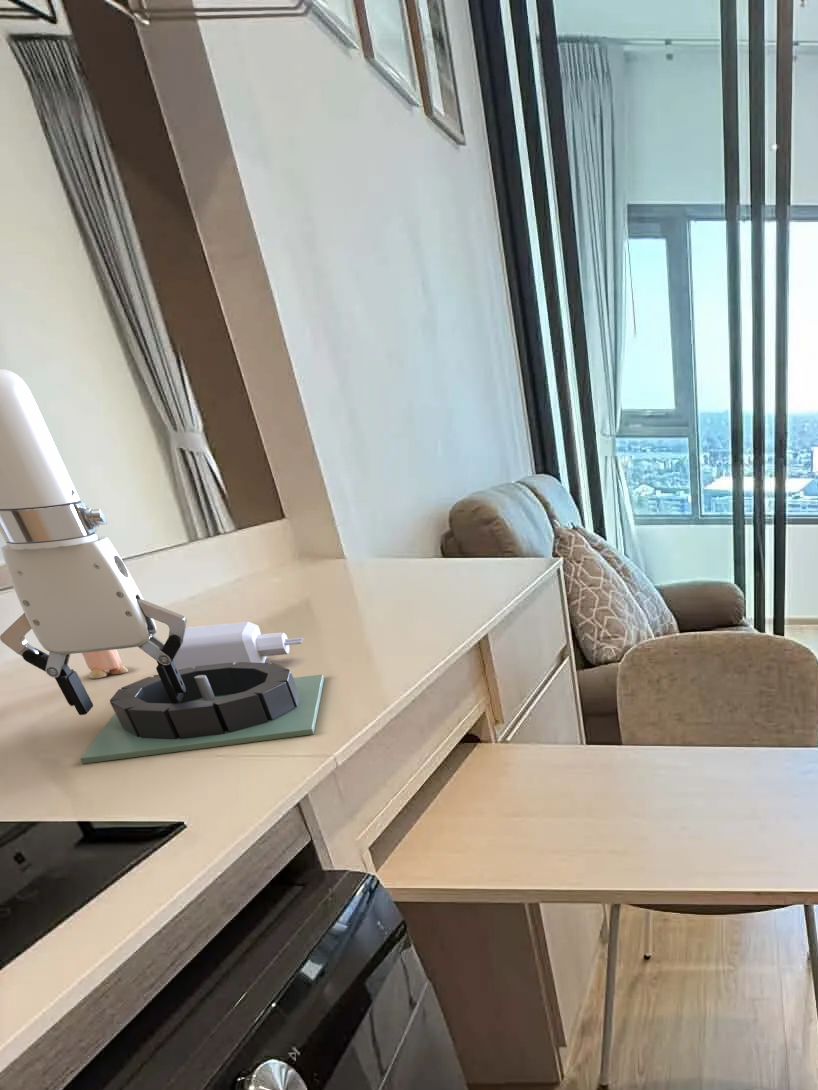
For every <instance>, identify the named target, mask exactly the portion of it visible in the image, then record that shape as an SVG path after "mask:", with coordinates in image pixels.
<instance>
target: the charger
mask: <svg viewBox="0 0 818 1090" xmlns="http://www.w3.org/2000/svg"><path fill="white" fill-rule="evenodd" d="M303 641H304V637H293V638H288V636H287V634H286V633H285V632H284V631H283V632H272V633H271V632H270V633H261V630H260V627H259V625H258V624H255V623H253V622H250V621H241V622H231V623H221V624H220V623H219V624H209V625H208V624H207V625H198V626H188V627H187V626H186V628H185V634H184V638H183V643H182V645H181V647H180V648H179V650H178V652H177V654H176V656H175V658H174V659H173V660H174V662H175V665H176V667H177V669H178V670H180V669H185V668H189V667H191V668H193V669H195V667H196V666H204V665H213V664H222V663H232V662H234V663H235V664H236V663H238V662H253V663H266V659H267V658H268V657H274V656H283V655H289V653H290V646H293V645H294V646H295V645H302V644H303Z"/></svg>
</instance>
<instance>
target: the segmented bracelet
mask: <svg viewBox="0 0 818 1090" xmlns="http://www.w3.org/2000/svg"><path fill="white" fill-rule="evenodd" d="M178 671H179V674H180V676H181V678H182V681H183V683H184V685H185V688H186V692H185V693H183V695H184V697H183V699H182V700H181V702H180V703H177V704H174V703H172V702H171V701H170V698H169V696H168V694H167V692H166V690H165V687H164V685H163V683H162V681H161V679H160V676H159V674H158V673H157V674H153V676H147V677H144V678H142V679H140V680H137V681H135V682H132V683H129V684H126V685H124V686H122V687H120V688H119V689H117V691H116V692H115V693H114V694H113V696H112V697H111V698H110V699H109V703H110V705H111V707H112V710H113V711H114V714H115V713H116V715H117V717H118V719H119V721H120V723H121V725H122V727H123V729H124V730H126V731H128V732H130V733H131V734H133V735H135V736H137V737H140V736H141V738H158V739H177V738H179V737H180V738H181V739H186V738H194V737H202V736H210V735H218V734H224V732H225V730H226V731H228V732H234V731H238V730H241V729H245V728H249V727H252V726H256V725H260V724H263V723H267V722H268V720H274V719H276V718H278V717H280V716H282V715H283V714H285V713H287V712H289V711H291V710H293V709H295V707H297V705H298V701H299V697H300V696H299V693H298V690H297V687H296V685H295V682H294V679H293V678H294V677H293V673H292V671H291V670H290V669H289V668H286V667H284V666H281V665H278V664H276V663H270V662H265V663H253V662H238V663H236V664H235V663H234V662H232V663H222V664H213V665H204V666H196V667H195V669H193V668H191V667H189V668H185V669H180V670H178ZM198 675H206V677H207V679H208V681H209V684H210V686H211V689H212V691H213V693H214V696H220V695H229V694H233V695H229V696H225V697H220V698H216V699H212V700H205V701H196V702H188V701H192V700H196V699H200V698H203V697H202V695H201V692H200V690H199V688H198V685H197V683H196V681H195V678H194V677H195V676H198ZM184 702H187V703H184Z"/></svg>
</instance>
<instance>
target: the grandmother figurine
mask: <svg viewBox="0 0 818 1090" xmlns="http://www.w3.org/2000/svg"><path fill="white" fill-rule="evenodd" d="M81 654H82V655H81V656H82V657H83V659H84V662H85V663H86V665H87V668H88V669H89V670H90V672H89V675H88V676H89V679H92V680H93V679H94V680H95V679H101V678H105V677H107V676H108V674H107V672H106V671H108V672H109V673H110V674H111V675H120V674H121V675H122V674H125V673H129V669H128V668H127V667H125V666H124V665H122V663H123V662H122V660H121V657H120V655H119V652H118V649H114V650H105V651H95V652H85V653H81Z"/></svg>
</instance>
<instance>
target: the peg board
mask: <svg viewBox="0 0 818 1090" xmlns="http://www.w3.org/2000/svg"><path fill="white" fill-rule="evenodd" d="M194 678H195V681H196V683H197V685H198V688H199V690H200V692H201V695H202V697H203V698H200V699H196V700H192V701H188V702H196V701H205V700H212V699H216V698H220V697H225V696H229V695H233V694H229V695H220V696H214V693H213V691H212V689H211V686H210V684H209V681H208V679H207V677H206V675H198V676H195V677H194ZM293 679H294V682H295V685H296V687H297V690H298V693H299V696H300V697H299V701H298V705H297V707H295V709H293V710H291V711H289V712H287V713H285V714H283V715H282V716H280V717H278V718H276V719H274V720H268V722H267V723H263V724H260V725H256V726H252V727H249V728H245V729H241V730H238V731H234V732H228V731H226V730H225V732H224V734H218V735H210V736H202V737H194V738H186V739H181V738H180V737H179V738H177V739H158V738H141V736H140V737H137V736H135V735H133V734H131V733H130V732H128V731H126V730H124V729H123V727H122V725H121V723H120V721H119V719H118V717H117V715H116V713H115V712H114V714H113V715H112V716H111V718H110V719H109V720H108V721H107V723H106V725H105V726H103V728H102V729H101V731H100V732H99V733H98V735H97V736H96V737H95V739H93V741H92V742H91V744H90V745H89V746H88V747H87V748H86V750H85V751H84V753H83V754H82V755H81V756H80V758H79V760H80V761H81V763H82V765H84V764H92V763H100V762H108V761H115V760H116V761H117V760H124V759H132V758H138V757H139V758H140V757H148V756H155V755H162V754H169V753H177V752H178V753H179V752H187V751H192V750H193V751H194V750H201V749H202V750H203V749H209V748H217V747H225V746H233V745H239V744H240V745H241V744H249V743H255V742H256V743H257V742H263V741H271V740H279V739H287V738H295V737H302V736H303V737H304V736H311V735H314V734H315V729H316V723H317V719H318V714H319V709H320V703H321V697H322V693H323V687H324V681H325V678H324V675H323V674H314V675H306V676H297V677H293ZM184 703H187V702H184Z"/></svg>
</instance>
